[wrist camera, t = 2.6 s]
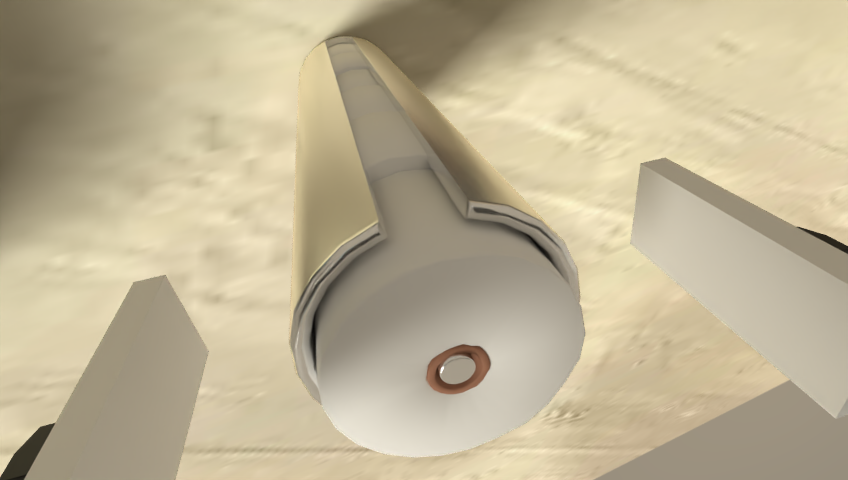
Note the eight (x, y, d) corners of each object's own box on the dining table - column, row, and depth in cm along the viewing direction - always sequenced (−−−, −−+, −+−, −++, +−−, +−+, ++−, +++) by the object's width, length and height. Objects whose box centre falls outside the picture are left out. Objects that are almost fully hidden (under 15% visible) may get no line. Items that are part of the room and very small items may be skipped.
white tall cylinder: (411, 57, 30) (668, 269, 9) (379, 148, 32) (519, 475, 11) (313, 18, 27) (348, 183, 6) (287, 120, 30) (253, 470, 9)
